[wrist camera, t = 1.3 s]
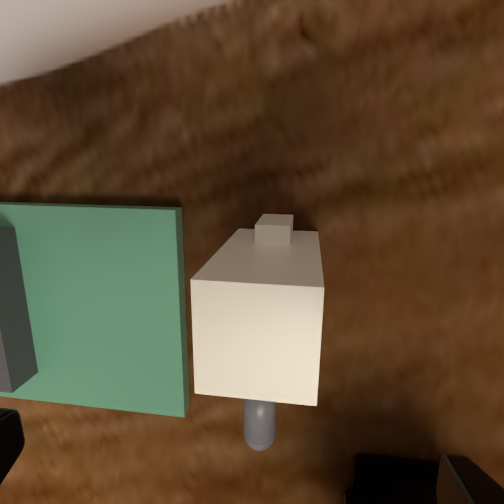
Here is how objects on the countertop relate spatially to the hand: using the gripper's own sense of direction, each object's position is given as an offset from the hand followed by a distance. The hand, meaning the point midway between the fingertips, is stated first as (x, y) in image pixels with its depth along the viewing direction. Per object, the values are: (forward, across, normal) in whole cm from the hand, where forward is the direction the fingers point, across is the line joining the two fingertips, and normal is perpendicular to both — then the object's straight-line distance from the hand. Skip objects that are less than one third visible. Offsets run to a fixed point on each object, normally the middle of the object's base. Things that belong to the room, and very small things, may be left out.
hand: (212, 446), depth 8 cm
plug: (+12, 0, +1) cm, 12 cm away
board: (+12, +14, +2) cm, 18 cm away
